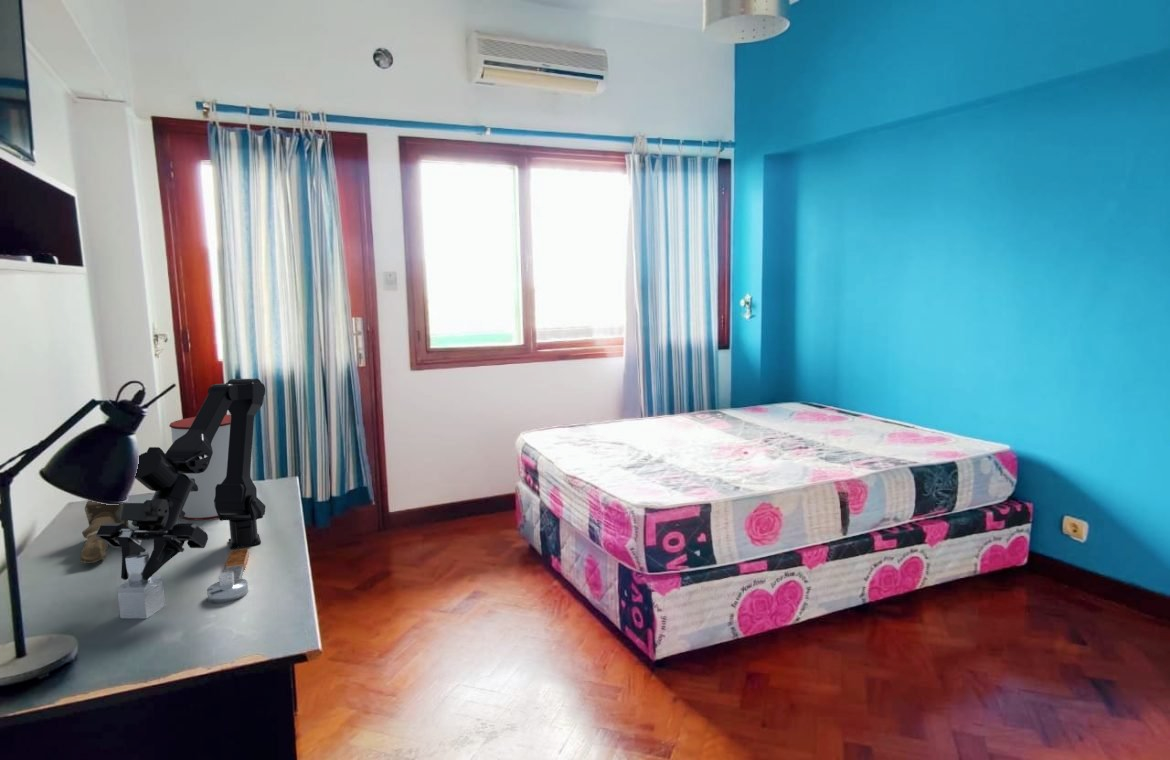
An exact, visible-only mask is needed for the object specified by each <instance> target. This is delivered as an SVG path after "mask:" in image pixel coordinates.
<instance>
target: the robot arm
mask: <svg viewBox="0 0 1170 760" xmlns="http://www.w3.org/2000/svg"><path fill="white" fill-rule="evenodd" d="M265 394H266V386H265V384H264V383H262V381H261V380H260V379H259V378H231V379H228V381H227V382H225V383H215V384H212V385H210V386H209V387H208V390H207V396H206V398H205V400H204V401H203V403H202V405H201V406H200V408H199V410H198V412H197V414H196V416H195V417H196V418H195V419H194V421H193V423H192V425H191V427H190V428H189V430H188V431H187V433H186V434H185V435H183V436H181V437H180V438H178V439H177V440H175V441H174V443H173V442H172V444H171V446H170V447H168V449H167V451H166V453H165V452H164V450H163V449H162V448H161V447H160V446H154V447H153V446H149V447H148V449H147V451H146V452H143V453H140V454H139V455H138V456H139V464H138V469H137V473H136V476H135V478H134V479H136V480H137V481H138V482H140V484H141V485H142V486H144V487H145V488H147V489H148V490H150V491H153V492H154V494H153V496H152V497H151V499H146V500H145V501H144V502H125V503H123V506H122V511H121V516H120V520H121V521H124V520H128V521H131V525H132V526H134V527H137V528H138V529H132V528H130V526H129V527H127V526H126V525H125V524H123V523H105V524H103V525H101V526H100V528H99V529H98V531H97V533H96V535H95V536H96V537H98V538H99V539H101V540H102V541H104V542H106V543H107V544H108V546H111V548H116V549H121V571H120V572H121V573H120V574H121V576H120V579H122V580H124V581H128V577H127V569H126V560H125V558H126V557H127V556H129V555H131V554H134V553H139V552H147V549H146V548H144V547H143V546H141V544H142V541H153V549H152V550H151V551H152V552H151V554H150V555H149V561H148V563H147V565H146V568H145V570H144V573H143V576H142V579H144V580H148V579H149V578H150V577H151V576H154V574H155V573H157V572H158V571H159V570H160V569H161V568H162V567H163V566H164V565H166V564H167V563H168V562H169V561H170V560H171V559H173V558H174V557H175V556H176V555H178V554H179V553H183V552H184V551H185V548H184V545H185V542H186V544H187V545H188V547H189V548H190V549H204V548H206V546H207V543H208V541H209V537H208V534H207V532H206V531H205V530H204V529H202V528H201V527H200V526H199V525H198V524H196V523H193V522H192V523H190V522H189V523H188V522H187V523H184V522H183V523H178V521H179V519H180V518H181V519H182V518H184V516H185V512H184V511H182V510H183V507H184V505H185V502H186V500H187V498H188V495H189V493H190V492H196V491H198V486H197V484H196V483H195V479H194V478H189V477H188V476H187V475H185V474H198V473H201V472H204V471H205V470H206V469H207V467H208V465H209V463H210V459H211V457H212V454H213V451H212V447H211V442H212V440H213V438H214V436H215V434H216V432H217V430H218V428H219V426H220V424H221V422H222V420H223V418H224V417H225V415H227V413H228V412H229V415H231V422H230V435H229V448H228V461H227V473H226V478H225V479H224V480H223V482H222V483H221V484H217V486H216V488H215V499H214V502H215V503H214V505H215V509H216V512H217V514H218V517H219V518H218V519H219V522H220V521H228V523H229V525H228V526H229V534H230V537H229V538H228V544H229V549H230V550H236V549H241V548H245V547H250V546H255V545H260V544H261V543H262V540H261V537H260V534H259V532H258V524H257V523H258V522H257V520H259V519H263V518H264V515H265V513H266V504H264V502H262V500H260V498H259V497H258V496H257V494H258V493H257V492H258V490H257V487H256V485H255V483H254V482H253V480H252V478H251V467H252V466H251V464H252V452H253V451H252V450H253V437H254V427H255V426H254V425H255V424H254V423H255V416H256V415H257V414H258V412H259V411H260V409H261V408H262V406H263V404H264V399H265V398H264V397H265Z"/></svg>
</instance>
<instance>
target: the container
mask: <svg viewBox="0 0 1170 760" xmlns="http://www.w3.org/2000/svg"><path fill="white" fill-rule="evenodd" d="M195 418H196V416H192V417H186V418H182V419H181V418H180V419H178V420H175V421H173V422H170V424H169V428H170V429H171V430H170V432H171V441H172V444H173V443H174V441H175V440H177V439H178V438H180V437H181V436H183V435H185V434H186V433H187V431H188V430H189V428H190V427H191V425H192V423H193V421H194V419H195ZM230 422H231V414H226V415H225V417H224V418H223V420H222V422H221V424H220V426H219V428H218V430H217V432H216V434H215V436H214V438H213V440H212V442H211V447H212V451H213V454H212V457H211V459H210V463H209V465H208V467H207V469H206V470H205V471H204V472H201V473H198V474H185V475H187V476H188V477H189V478H194V479H195V483H196V484H197V486H198V491H196V492H190V493H189V495H188V498H187V500H186V502H185V505H184V507H183V510H182V511H184V512H185V516H184V518H181V519H183V520H188V521H205V520H206V521H207V520H214V519H215V518H216V519H219V517H218V514H217V512H216V509H215V505H214V503H215V502H214V499H215V488H216V486H217V484H221V483H222V482H223V480H224V479H225V478H226V473H227V461H228V448H229V435H230Z"/></svg>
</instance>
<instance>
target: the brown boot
mask: <svg viewBox="0 0 1170 760" xmlns="http://www.w3.org/2000/svg"><path fill="white" fill-rule="evenodd" d="M122 506H123V504H119V505H106V504H101V503H97V502H92V501H89V500H87V502H86V504H85V506H84V512H85V517H86V518H87V522H88V526H87V528H86V529H84V530H82V532H81V533H82V536H83V538H85V539H86V541H85V543H84V544H83V548H82V550H81V552H80V561H81V562H82V563H84V564H91V563H95V562H96V563H97V562H100V560H103V559H106V558H107V555H108V554H107V553H106V551H107V549H108V548H109V544H107V543H106V542H104V541H102V540H101V539H99V538H98V537H96V536H95V535H96V533H97V531H98V529H99V528H100V526H101V525H103V524H105V523H123V524H125V525H126V526H127V527H129V528H130V526H129V520H124V521H121V520H120V516H121V511H122Z"/></svg>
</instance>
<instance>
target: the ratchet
mask: <svg viewBox="0 0 1170 760" xmlns="http://www.w3.org/2000/svg"><path fill="white" fill-rule="evenodd" d="M248 558H250V552H249V548H237V549H230V551H229V554H228V557H227V560H226V563H225V569H224V572H223V571H222V572H220V574H219V577H218V579H219V581H217V582H214V583H213V584H211V585H209V586H208V587H207V589H206V591H207V592H206V595H207V601H208V602H209V603H210V604H214V605H221V604H228V603H233V602H236V601H238V600H240V599H243V598H245V597H246V596H247V595H248V594H249V586H248V580H246V579H245V578H243V577H242V576H244V573H245V571H246V569H247V566H246V565H248V562H249V559H248ZM245 568H246V569H245ZM244 570H245V571H244ZM243 572H244V573H243Z"/></svg>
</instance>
